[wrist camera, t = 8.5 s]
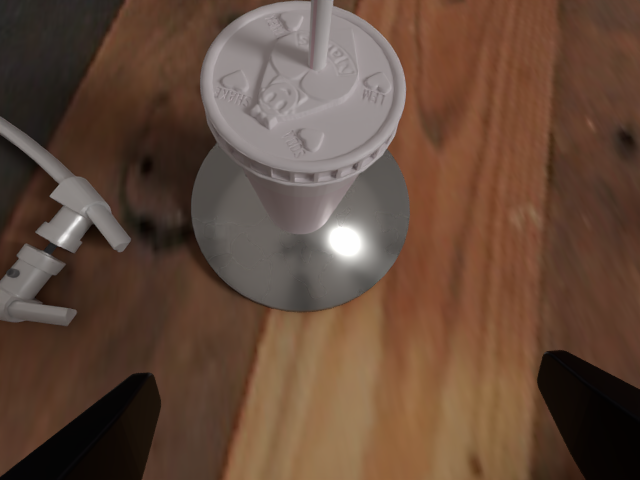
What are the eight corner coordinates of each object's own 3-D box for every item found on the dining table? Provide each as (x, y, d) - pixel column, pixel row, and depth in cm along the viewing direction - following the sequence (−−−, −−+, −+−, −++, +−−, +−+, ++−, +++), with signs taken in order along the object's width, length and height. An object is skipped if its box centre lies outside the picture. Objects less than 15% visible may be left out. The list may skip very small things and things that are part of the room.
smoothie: (380, 197, 21) (532, -80, 8) (307, 283, 19) (339, 121, 6) (292, 131, 22) (292, -222, 8) (215, 208, 20) (63, -83, 7)
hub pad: (413, 312, 20) (418, 310, 19) (184, 312, 19) (179, 310, 18) (398, 119, 24) (401, 111, 23) (204, 112, 23) (201, 104, 22)
